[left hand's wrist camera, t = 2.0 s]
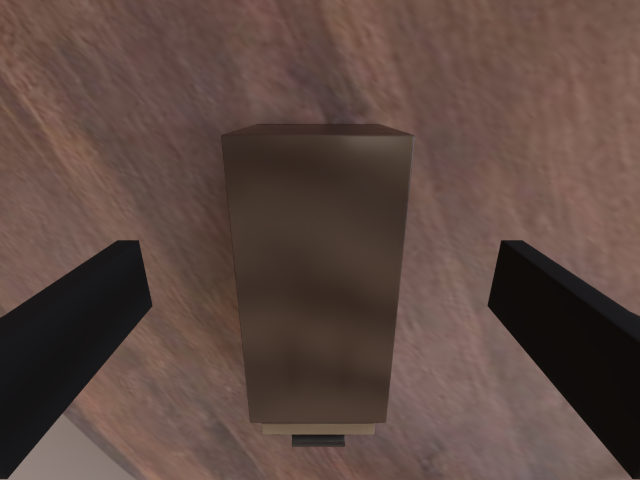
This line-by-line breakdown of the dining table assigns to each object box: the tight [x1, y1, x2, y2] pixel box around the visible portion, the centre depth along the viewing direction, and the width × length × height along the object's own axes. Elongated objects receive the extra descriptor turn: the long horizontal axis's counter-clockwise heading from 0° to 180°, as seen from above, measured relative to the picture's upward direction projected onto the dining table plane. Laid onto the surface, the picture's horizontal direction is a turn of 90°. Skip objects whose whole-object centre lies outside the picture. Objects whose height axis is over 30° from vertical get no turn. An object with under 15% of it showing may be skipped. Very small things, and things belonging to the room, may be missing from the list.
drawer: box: [262, 423, 375, 447], centre depth 29 cm, size 25×9×9 cm, turn 0°
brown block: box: [221, 124, 415, 423], centre depth 27 cm, size 21×10×11 cm, turn 0°
